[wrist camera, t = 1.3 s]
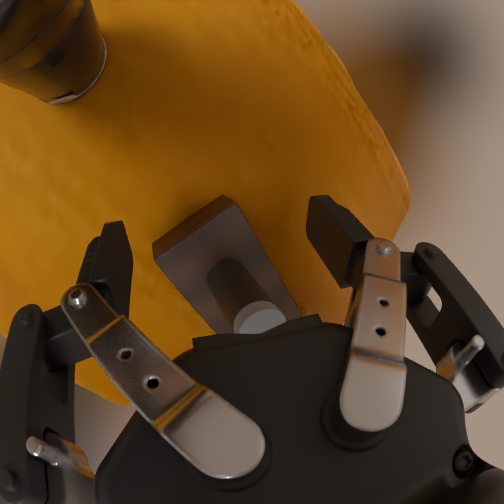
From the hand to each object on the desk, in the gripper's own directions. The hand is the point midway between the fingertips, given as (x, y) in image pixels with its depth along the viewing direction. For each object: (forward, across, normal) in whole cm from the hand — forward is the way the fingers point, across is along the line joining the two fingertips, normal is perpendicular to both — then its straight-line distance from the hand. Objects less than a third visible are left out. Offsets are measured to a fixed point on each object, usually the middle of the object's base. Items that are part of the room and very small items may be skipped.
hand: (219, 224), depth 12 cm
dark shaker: (+13, -2, +15) cm, 20 cm away
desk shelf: (+16, -4, +21) cm, 27 cm away
